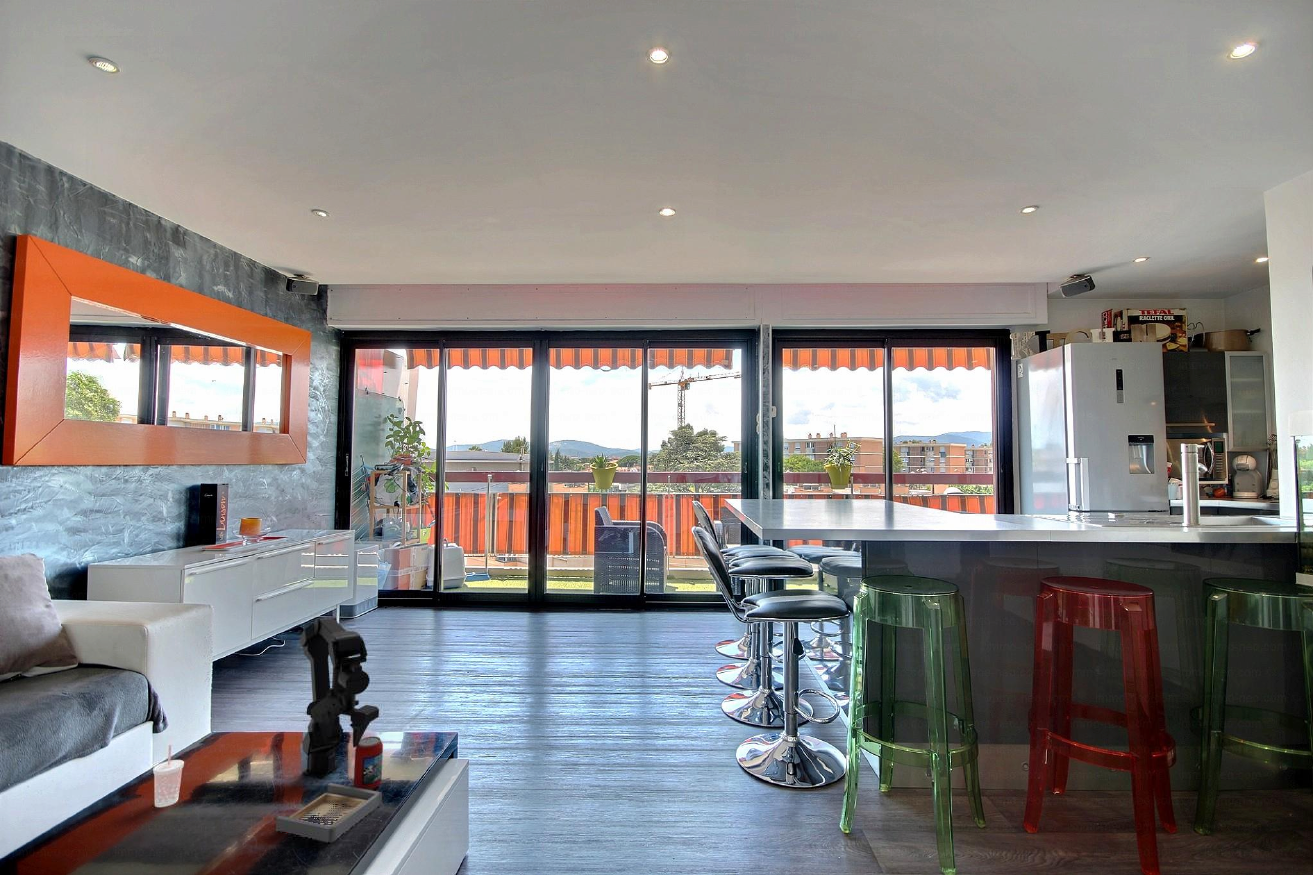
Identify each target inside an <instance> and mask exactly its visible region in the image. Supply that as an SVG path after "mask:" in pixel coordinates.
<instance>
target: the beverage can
mask: <svg viewBox="0 0 1313 875" xmlns="http://www.w3.org/2000/svg"><path fill="white" fill-rule="evenodd" d="M354 751H355V753H354V765H353V766H354V769H353V770H354V771H353V773H354V774H353V787H355V788H361V789H366V790H371V791H373V790H374V789H376V788H377V787H378V786H380V785H381V783H382V778H383V777H382V774H383V772H382V771H383V757H384V755H383V753H384V744H383V743H382V740H381V738H380V737H378V736H368V737H364V738H363V737H362V738H361V740H360V742H359V744H358V746H357V747H355V749H354Z"/></svg>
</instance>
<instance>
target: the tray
mask: <svg viewBox="0 0 1313 875" xmlns="http://www.w3.org/2000/svg"><path fill="white" fill-rule="evenodd" d="M366 801H367V800H363V799H358V798H353V797H347V796H342V795H337V794H331V793H327V792H325V793H323V794H322V795H320V796H318V797H317V798H316V799H314V800H313V801H311V802H310V803H308V804H307V805H305V806H303V807H301V809H299V810H298V811H296V812H293V813H292V814H291V815H290V816H289V818H294V819H300V818H301V817H311V816H304V815H319V816H314V817H326V818H325V819H334V820H336V819H338V820H337V821H333V822H334V823H333V824H332V825H327V826H333V825H335V824H336V823H337V822H339V821H340V820H341V819H343V818H344V817H345V816H347V815H348V814H349V813H351V812H352V811H353V810H355V809H356V808H358V807H359V806H360V805H362V804H363V803H364V802H366ZM333 804H334V805H333ZM335 804H339V805H335ZM342 804H344V805H342ZM345 804H346V805H345ZM333 806H334V807H333ZM335 806H337V807H335ZM343 806H344V807H343ZM345 806H346V807H345ZM347 806H348V807H347ZM349 806H351V807H349ZM355 806H356V807H355ZM331 808H332V809H331ZM333 808H334V809H333ZM335 808H337V809H335ZM338 808H339V809H338ZM343 808H344V809H343ZM345 808H346V809H345ZM347 808H350V809H347ZM329 810H330V811H329ZM331 810H332V811H331ZM333 810H334V811H333ZM336 812H337V813H340V814H327V813H336ZM307 813H315V814H307ZM318 813H320V814H318ZM343 813H347V814H343ZM323 815H328V816H323ZM332 815H338V816H332ZM339 815H342V816H339ZM312 817H313V816H312ZM327 817H339V818H327ZM301 819H308V818H301ZM314 819H315V818H314ZM316 819H317V818H316ZM319 819H320V818H319ZM321 819H322V818H321ZM321 819H320V820H321ZM323 819H324V818H323ZM320 822H323V821H320ZM328 822H331V821H328ZM320 824H324V823H320ZM328 824H331V823H328Z"/></svg>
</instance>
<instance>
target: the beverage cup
mask: <svg viewBox="0 0 1313 875" xmlns="http://www.w3.org/2000/svg"><path fill="white" fill-rule="evenodd" d="M167 754H168V756H167V761H163V762H161V763H159V764H157V765H155V766H154V767H153V769H152V770H153V771H152V773H153V774H154V775H153V776H154V780H153V781H154V806H155V807H156V808H165V807H169V806H172V805H174V804H176V803H177V802H178V800H179V794H180V787H181V783H182V781H181V779H182V772H183V768H184V766H185V765H184V764H185V761H184V760H181V759H172V760H171V756H172V755H171V754H172V744H170V745H168V753H167Z"/></svg>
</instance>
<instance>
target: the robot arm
mask: <svg viewBox="0 0 1313 875" xmlns="http://www.w3.org/2000/svg"><path fill="white" fill-rule="evenodd" d="M300 646H301V648H302V651H303V652H302V653H303V655H304V656H305V657H306V659H308V661H309V662H310V663H309V664H310V675H311V676H310V677H311V691H312V696H311V697H312V701H311V702H309V704H308V705H307V706H306V715H307V716H310V721H309V722H308V725H307V732H306V734H305V735H304V738H303V740H302V751H303V752H304V753H305V755H306V756H307V764H306V769H305V770H303V771H302V773H301V774H302V775H305V776H309V777H315V778H323V777H325V776H326V775H328V774H329V773H331V772H333V771H334V770H335V769H337V768H338V767H339V765H338V764H336V753H335V750H336V748H339V747H341V744H342V739H343V733H344V729H343V727H342V724H341V722H340V719H341V718H340V715H343V716H348V717H350V718H349V719H350V722H351V723H350V724H349V726H350V727H351V728H352V747H353V748H355V749H356V747H357V746H358V744H359V742H360V740H361V739H363V735H364V734H365V732H366V730H367V728H368V727H369V725H370V723H371V722H372V721H375V720H376V719H378V718H379V717H380V708H378V706H374V705H370V704H369V705H368V704H364V705H363V706H361V707H359V708H356V706H358V705H359V704H360V700H359V699H356V696H358V695H360V694H362V693H364V692H365V690H367V688H368V687H369V685H370V682H371V681H370V675H369V674H368V672H366V671H364V670H363V666H362V665H361V664H362V663H366V662H367V656H368V651H367V648H366V644H365V641H364V638H363V637H362V635H361V634H360V633H358V632H357V631H354V630H353V631H350V630H346V629H345V628H344V627H343V626H342V625H341V624H340V623H339V622H338V621H337V617H336V616H330V615H329V616H325V617H318V618H316V619H314V621H313V623H311V624H310V625H308V626H306V627H305V628H304V629H303V631H302V633H301V635H300ZM329 658H330V661H331V665H332V677H331V678H332V679H331V678H330V665H329V663H330V662H329ZM331 680H332V681H331Z"/></svg>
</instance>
